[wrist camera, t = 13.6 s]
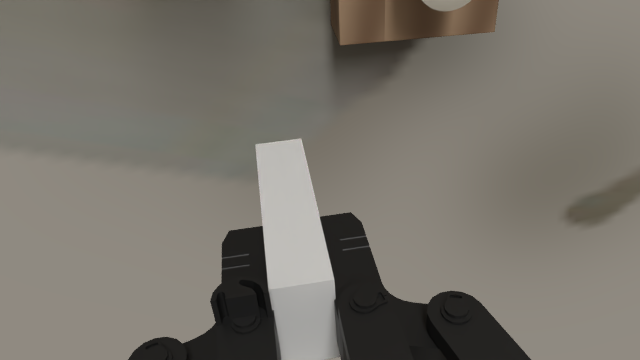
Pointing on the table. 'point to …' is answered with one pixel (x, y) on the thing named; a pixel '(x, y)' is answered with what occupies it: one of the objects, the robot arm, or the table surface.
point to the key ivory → (445, 4)
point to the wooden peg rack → (407, 20)
